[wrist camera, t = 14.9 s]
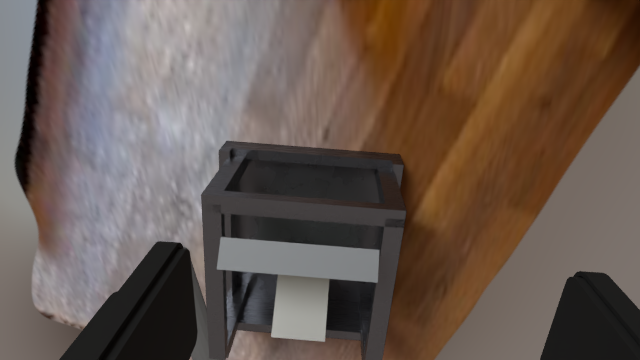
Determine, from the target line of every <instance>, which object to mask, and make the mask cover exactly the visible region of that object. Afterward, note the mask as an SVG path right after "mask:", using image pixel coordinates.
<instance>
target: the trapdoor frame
mask: <svg viewBox="0 0 640 360" xmlns="http://www.w3.org/2000/svg"><path fill="white" fill-rule="evenodd" d="M403 166H404V165H403V162H402V159H401V157H400V154H388V153H375V152H362V151H349V150H337V149H324V148H311V147H298V146H285V145H272V144H259V143H247V142H234V141H226V143H225V144H224V145H223V146H222V147H221V149H220V150H219V171H218V172H217V173H216V175H215V176H214V178H213V179H212V180H211V182H210V183H209V185H208V186H207V187H206V189H205V190H204V191H203V193H202V194H201V200H202V221H203V242H204V262H205V283H206V304H207V325H208V346H209V359H221V360H225V359H226V358H228V356H229V353H230V350H231V347H232V344H233V340H234V337H235V334H236V331H237V330H244V331H256V332H267V333H272V324H273V315H274V306H275V297H276V287H277V278H278V274H267V273H255V272H243V271H230V270H218V269H217V263H218V255H219V247H220V239H221V237H227V238H239V239H251V240H264V241H276V242H288V243H300V244H313V245H325V246H337V247H349V248H362V249H374V250H379V268H378V283H375V282H363V281H351V280H339V279H329V291H328V305H327V319H326V333H325V337H326V338H338V339H349V340H361V355H362V360H382V358H383V352H384V345H385V339H386V333H387V327H388V321H389V315H390V309H391V303H392V297H393V290H394V284H395V278H396V272H397V266H398V260H399V254H400V248H401V242H402V235H403V229H404V223H405V217H406V208H405V205H404V201H403V198H402V195H401V192H400V186H401V179H402V173H403Z"/></svg>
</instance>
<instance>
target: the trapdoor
mask: <svg viewBox="0 0 640 360" xmlns="http://www.w3.org/2000/svg"><path fill="white" fill-rule="evenodd" d="M378 268H379V250H374V249H362V248H349V247H337V246H325V245H313V244H300V243H288V242H276V241H264V240H251V239H239V238H227V237H221V239H220V247H219V255H218V263H217V269H218V270H230V271H243V272H255V273H267V274H279V275H291V276H303V277H315V278H327V279H339V280H351V281H363V282H375V283H378Z"/></svg>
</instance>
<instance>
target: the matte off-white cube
mask: <svg viewBox="0 0 640 360" xmlns="http://www.w3.org/2000/svg"><path fill="white" fill-rule="evenodd" d="M328 291H329V279H327V278H315V277H303V276H291V275H279V274H278V278H277V287H276V297H275V306H274V315H273V324H272V333H271V337H276V338H287V339H299V340H311V341H322V342H325V333H326V319H327V305H328Z"/></svg>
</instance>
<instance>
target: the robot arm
mask: <svg viewBox="0 0 640 360" xmlns="http://www.w3.org/2000/svg"><path fill="white" fill-rule="evenodd" d="M197 334H198V330H197V319H196V309H195V299H194V289H193V279H192V268H191V258H190V252H189V250H188V249H183V246H182V244H181V243H175V242H161V241H159V242H157V243H156V244H155V245H154V246H153V247H152V248H151V250H150V251H149V252H148V254H147V255H146V256H145V257H144V259H143V260H142V261H141V263H140V264H139V265H138V266H137V268H136V269H135V270H134V272H133V273H132V274H131V275H130V277H129V278H128V279H127V281H126V282H125V283H124V284H123V286H122V287H121V288H120V290H119V291H117V292H115V293H113V294H112V295H111V296H110V297H109V298H108V299H107V300H106V302H105V303H104V304H103V305H102V307H101V308H100V309H99V310H98V312H97V313H96V314H95V315H94V317H93V318H92V319H91V320H90V322H89V323H88V324H87V326H86V327H85V328H84V329H83V331H82V332H81V333H80V334H79V336H78V337H77V338H76V340H75V341H74V342H73V343H72V344H71V346H70V347H69V348H68V350H67V351H66V352H65V353H64V355H63V356H62V357H61V358H60V360H189V359H190V356H191V354H192V352H193V350H194V347H195V345H196V341H197ZM540 360H640V310H639V309H638V308H637V306H636V305H635V304H634V303H633V302H632V301H631V300H630V299H629V298H628V297H627V296H626V294H625V293H624V292H623V291H622V290H621V289H620V288H619V287H618V286H617V285H616V283H615V282H614V281H613V280H612V279H611V278H610V277H609V276H608V275H606V274H604V273H596V272H581V271H580V272H577V273H576V274H575V275H574V276H573V277H569V278H568V279H567V281H566V284H565V287H564V289H563V292H562V296H561V298H560V301H559V304H558V307H557V310H556V313H555V316H554V319H553V322H552V325H551V328H550V331H549V334H548V337H547V340H546V343H545V346H544V349H543V352H542V355H541V358H540Z"/></svg>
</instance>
